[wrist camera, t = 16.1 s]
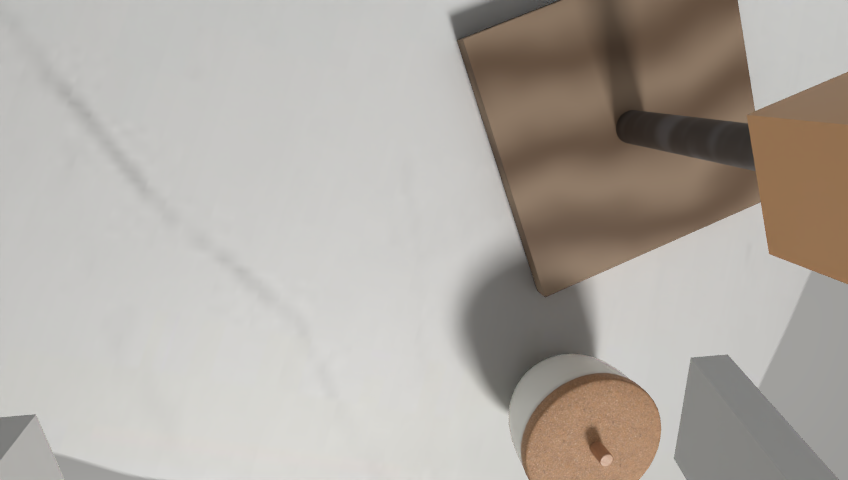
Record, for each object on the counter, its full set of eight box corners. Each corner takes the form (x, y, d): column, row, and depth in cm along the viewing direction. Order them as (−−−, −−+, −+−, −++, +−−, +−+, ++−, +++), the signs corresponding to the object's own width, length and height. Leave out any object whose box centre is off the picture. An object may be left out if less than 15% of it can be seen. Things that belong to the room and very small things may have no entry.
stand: (456, 40, 40) (1234, -103, 7) (712, -60, 42) (2283, -546, 9) (537, 290, 46) (1129, 824, 14) (754, 194, 48) (1739, 459, 15)
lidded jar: (531, 313, 47) (587, 369, 38) (631, 359, 50) (703, 421, 41) (467, 423, 48) (506, 501, 40) (568, 461, 52) (624, 541, 43)
